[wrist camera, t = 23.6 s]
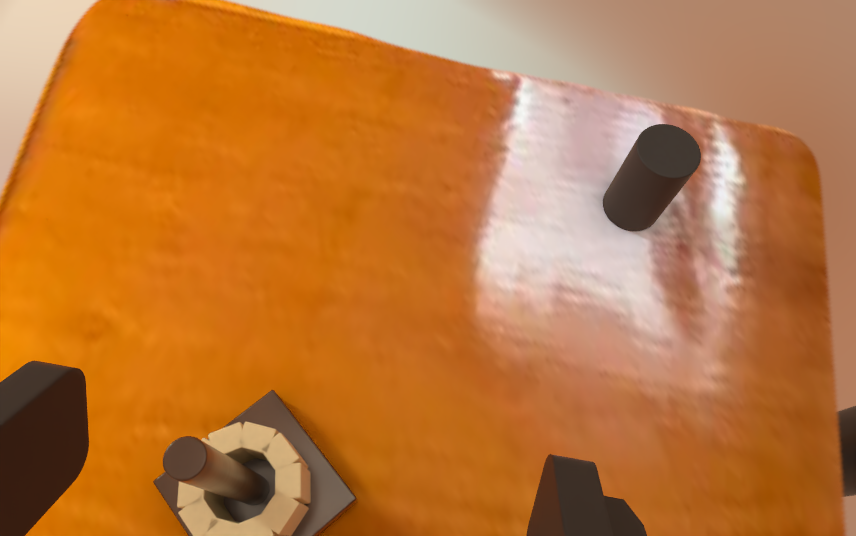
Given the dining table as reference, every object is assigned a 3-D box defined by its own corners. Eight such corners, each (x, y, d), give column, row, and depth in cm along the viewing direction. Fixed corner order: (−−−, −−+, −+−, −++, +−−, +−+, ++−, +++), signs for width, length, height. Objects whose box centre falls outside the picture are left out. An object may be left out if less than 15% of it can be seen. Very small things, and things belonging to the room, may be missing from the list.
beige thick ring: (268, 413, 37) (255, 398, 33) (333, 499, 35) (326, 493, 32) (177, 483, 35) (153, 475, 32) (241, 578, 33) (223, 581, 30)
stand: (276, 394, 39) (217, 313, 26) (358, 500, 37) (338, 471, 23) (161, 483, 36) (29, 444, 23) (240, 603, 34) (145, 634, 21)
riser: (628, 173, 47) (665, 112, 40) (669, 210, 46) (714, 154, 39) (591, 202, 46) (623, 146, 39) (632, 241, 44) (672, 189, 38)
